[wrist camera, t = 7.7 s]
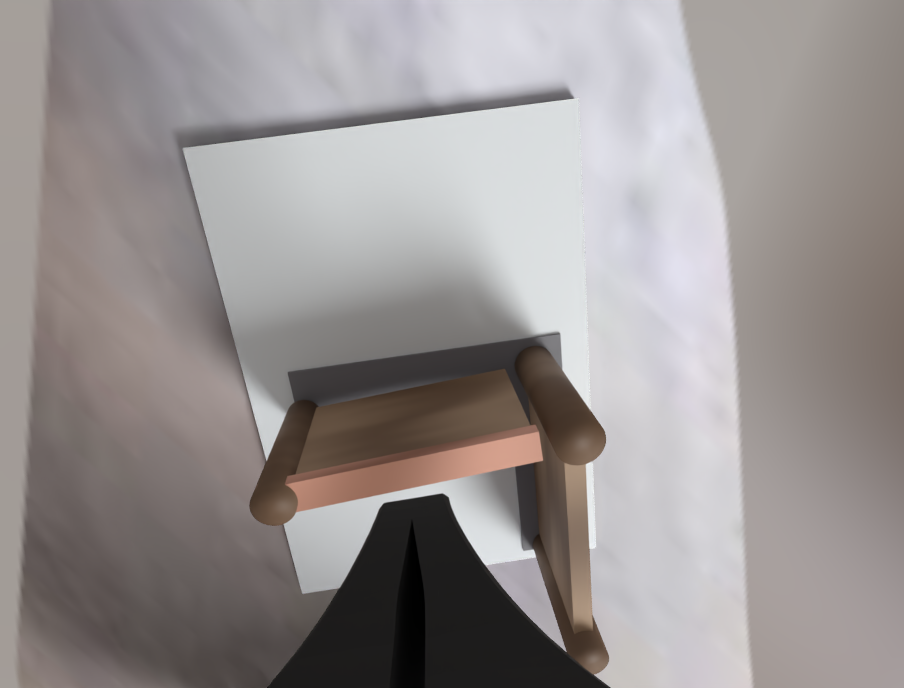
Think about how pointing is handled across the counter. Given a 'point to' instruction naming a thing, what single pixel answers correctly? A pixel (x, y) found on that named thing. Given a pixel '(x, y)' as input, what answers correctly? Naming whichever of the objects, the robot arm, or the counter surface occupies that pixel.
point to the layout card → (402, 287)
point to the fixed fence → (564, 500)
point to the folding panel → (393, 444)
